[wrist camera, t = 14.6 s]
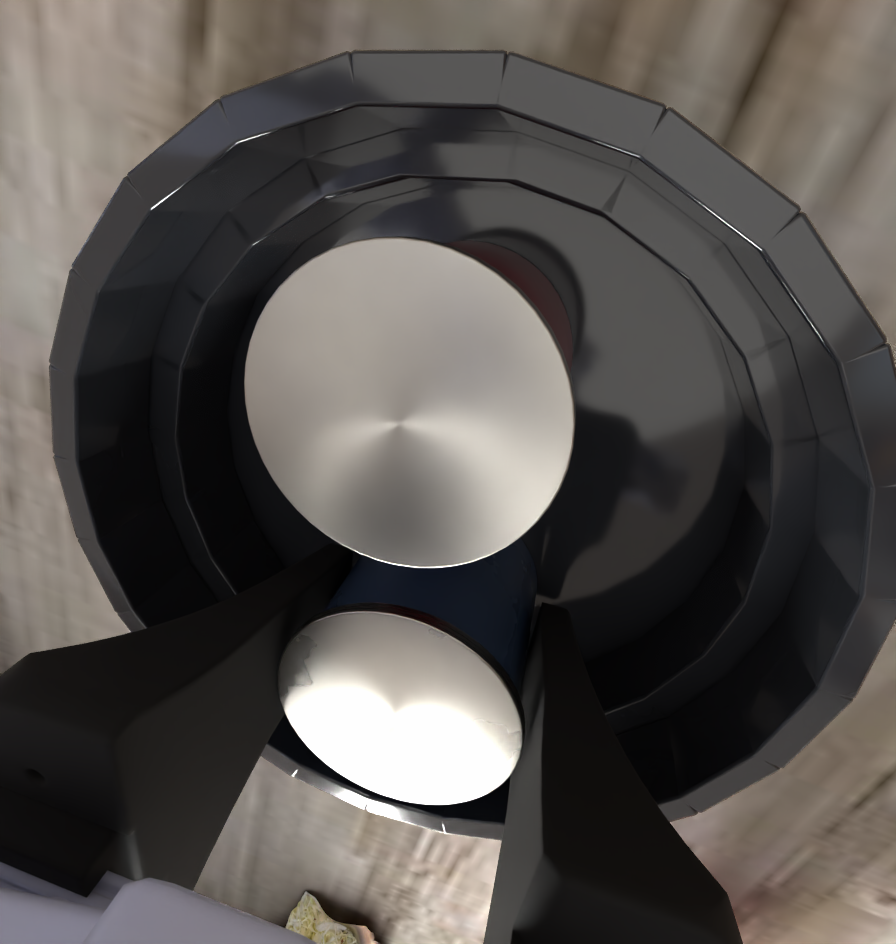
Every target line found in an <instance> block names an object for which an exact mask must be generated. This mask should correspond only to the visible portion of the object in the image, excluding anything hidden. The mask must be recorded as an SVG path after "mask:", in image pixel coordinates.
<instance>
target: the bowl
mask: <svg viewBox="0 0 896 944" xmlns="http://www.w3.org/2000/svg"><path fill="white" fill-rule="evenodd" d="M800 210H801V208H800V206H799V205H798V204H797V203H795V202H794V201H793V200H791V199H790V198H789V197H788V196H786V195H785V194H784V193H782V192H781V191H780V190H779V189H777V188H776V187H775V186H773V185H772V184H771V183H769V182H768V181H767V180H766V179H764V178H763V177H762V176H760V175H759V174H758V173H756V172H755V171H754V170H753V169H751V168H750V167H749V166H747V165H746V164H745V163H744V162H742V161H741V160H740V159H738V158H737V157H736V156H734V155H733V154H732V153H731V152H729V151H728V150H727V149H725V148H724V147H723V146H722V145H720V144H719V143H718V142H716V141H715V140H714V139H712V138H711V137H710V136H709V135H707V134H706V133H705V132H703V131H702V130H701V129H699V128H698V127H697V126H696V125H694V124H693V123H692V122H690V121H689V120H688V119H687V118H685V117H684V116H683V115H681V114H680V113H679V112H677V111H676V110H675V109H674V108H671V107H668V108H667V109H666V105H665V104H664V103H662V102H659V101H656V100H653V99H650V98H647V97H645V96H642V95H639V94H636V93H633V92H630V91H627V90H624V89H621V88H618V87H615V86H612V85H610V84H607V83H604V82H601V81H598V80H595V79H592V78H589V77H586V76H583V75H580V74H577V73H575V72H572V71H569V70H566V69H563V68H560V67H557V66H554V65H551V64H548V63H545V62H542V61H540V60H537V59H534V58H531V57H528V56H525V55H522V54H519V53H516V52H513V51H512V52H509V53H507V51H505V50H353V51H352V52H349V51H346V52H343V53H340V54H338V55H335V56H332V57H329V58H326V59H324V60H321V61H318V62H315V63H312V64H310V65H307V66H304V67H301V68H298V69H296V70H293V71H290V72H287V73H284V74H282V75H279V76H276V77H273V78H270V79H268V80H265V81H262V82H259V83H256V84H254V85H251V86H248V87H245V88H243V89H240V90H237V91H234V92H231V93H229V94H226V95H223V96H221V97H220V99H217V100H215V101H214V102H213V103H212V104H211V105H209V106H208V107H207V108H206V109H205V110H203V111H202V112H201V113H200V114H198V115H197V116H196V117H195V118H194V119H192V120H191V121H190V122H189V123H188V124H186V125H185V126H184V127H183V128H182V129H180V130H179V131H178V132H177V133H176V134H174V135H173V136H172V137H171V138H170V139H168V140H167V141H166V142H165V143H164V144H162V145H161V146H160V147H159V148H158V149H156V150H155V151H154V152H153V153H152V154H150V155H149V156H148V157H147V158H146V159H144V160H143V161H142V162H141V163H140V164H138V165H137V166H136V167H135V168H133V169H132V170H131V171H130V172H129V173H128V174H127V176H126V177H124V178H123V180H122V182H121V183H120V185H119V187H118V188H117V190H116V192H115V193H114V195H113V197H112V198H111V200H110V202H109V203H108V205H107V207H106V208H105V210H104V212H103V214H102V215H101V217H100V219H99V220H98V222H97V224H96V225H95V227H94V229H93V230H92V232H91V234H90V235H89V237H88V239H87V240H86V242H85V244H84V245H83V247H82V249H81V251H80V252H79V254H78V256H77V257H76V259H75V261H74V262H73V264H72V269H71V270H70V272H69V276H68V280H67V285H66V289H65V293H64V298H63V302H62V306H61V311H60V315H59V319H58V324H57V328H56V333H55V337H54V341H53V346H52V350H51V354H50V359H49V362H50V366H49V377H50V399H51V421H52V442H53V453H54V454H55V455H54V457H53V458H54V461H55V464H56V468H57V471H58V475H59V478H60V482H61V485H62V489H63V492H64V496H65V499H66V503H67V506H68V510H69V513H70V517H71V520H72V523H73V527H74V530H75V534H76V537H77V538H79V539H78V542H79V543H80V545H81V547H82V549H83V551H84V553H85V555H86V557H87V559H88V561H89V563H90V564H91V566H92V568H93V570H94V572H95V574H96V576H97V578H98V580H99V582H100V584H101V585H102V587H103V589H104V591H105V593H106V595H107V597H108V599H109V601H110V603H111V604H112V606H113V608H114V610H115V612H117V613H118V616H119V617H120V619H121V620H122V621H123V622H124V624H125V625H126V626H127V628H128V629H129V630H130V631H131V632H135V631H139V630H142V629H146V628H149V627H152V626H155V625H158V624H161V623H164V622H167V621H171V620H174V619H177V618H180V617H183V616H186V615H189V614H191V613H194V612H197V611H199V610H202V609H204V608H207V607H209V606H212V605H214V604H217V603H219V602H221V601H224V600H226V599H228V598H230V597H232V596H235V595H237V594H239V593H241V592H243V591H245V590H247V589H249V588H251V587H253V586H255V585H257V584H259V583H261V582H263V581H265V580H267V579H268V578H270V577H272V576H274V575H276V574H277V573H279V572H281V571H283V570H285V569H286V568H288V567H290V566H292V565H293V564H295V563H297V562H298V561H300V560H302V559H304V558H305V557H307V556H309V555H310V554H312V553H314V552H316V551H317V550H319V549H321V548H323V547H324V546H326V545H328V544H330V543H334V544H338V545H341V544H340V543H338V542H337V541H335V540H333V539H332V538H330V537H329V536H327V535H326V534H324V533H323V532H322V531H320V530H319V529H318V528H316V527H315V526H314V525H313V524H311V523H310V522H309V521H308V520H307V519H306V518H305V517H304V516H303V515H302V514H301V513H300V512H299V511H297V510H296V508H295V507H294V506H293V505H292V504H291V503H290V501H289V500H288V499H287V498H286V497H285V496H284V495H283V493H282V492H281V490H280V489H279V487H278V486H277V484H276V483H275V482H274V480H273V479H272V477H271V475H270V473H269V472H268V470H267V468H266V466H265V464H264V463H263V461H262V459H261V456H260V454H259V451H258V449H257V447H256V444H255V442H254V439H253V435H252V432H251V428H250V425H249V421H248V415H247V410H246V404H245V388H244V378H245V364H246V358H247V353H248V348H249V343H250V340H251V337H252V334H253V331H254V329H255V326H256V323H257V321H258V319H259V317H260V315H261V313H262V311H263V309H264V308H265V306H266V304H267V302H268V301H269V300H270V298H271V297H272V295H273V294H274V293H275V291H276V290H277V289H278V287H279V286H280V285H281V284H282V283H283V282H284V281H285V280H286V279H287V278H288V277H289V276H290V275H291V274H292V273H293V272H294V271H295V270H297V269H298V268H299V267H301V266H302V265H303V264H305V263H306V262H308V261H309V260H310V259H312V258H313V257H315V256H317V255H319V254H321V253H323V252H325V251H327V250H329V249H331V248H334V247H337V246H340V245H343V244H346V243H349V242H352V241H356V240H363V239H369V238H375V237H395V236H408V237H415V238H422V239H429V240H434V241H437V242H441V243H449V242H455V241H479V242H486V243H491V244H494V245H497V246H501V247H504V248H506V249H508V250H510V251H512V252H515V253H517V254H518V255H520V256H521V257H523V258H524V259H526V260H528V261H529V262H530V263H531V264H533V265H534V266H535V267H536V268H537V269H538V270H540V271H541V273H542V274H543V275H544V276H545V277H546V278H547V279H548V280H549V282H550V283H551V284H552V286H553V287H554V289H555V290H556V292H557V293H558V295H559V297H560V299H561V301H562V303H563V305H564V307H565V310H566V313H567V316H568V319H569V322H570V327H571V333H572V343H573V355H572V366H571V372H570V373H571V379H572V384H573V389H574V394H575V409H576V425H575V436H574V447H573V451H572V455H571V460H570V464H569V468H568V471H567V473H566V476H565V478H564V481H563V483H562V486H561V488H560V490H559V492H558V493H557V495H556V497H555V499H554V500H553V502H552V504H551V505H550V507H549V508H548V509H547V511H546V512H545V513H544V514H543V516H542V517H541V518H540V519H539V521H538V522H537V523H536V524H535V525H534V526H533V527H532V528H531V529H530V530H528V531H527V532H526V533H525V534H524V535H523V536H522V537H520V538H521V539H522V541H523V542H524V544H525V545H526V547H527V549H528V550H529V552H530V554H531V557H532V559H533V561H534V565H535V569H536V574H537V593H536V599H535V605H534V612H533V618H532V624H531V631H530V637H529V643H528V648H529V644H530V641H531V638H532V634H533V631H534V628H535V624H536V621H537V617H538V614H539V611H540V607H541V604H542V602H544V603H548V604H551V605H555V606H558V607H562V608H566V609H568V611H569V612H570V614H571V619H572V624H573V628H574V632H575V636H576V639H577V643H578V646H579V649H580V652H581V655H582V658H583V661H584V664H585V667H586V669H587V672H588V675H589V678H590V680H591V683H592V685H593V688H594V690H595V693H596V695H597V698H598V700H599V702H600V704H601V707H602V709H603V711H604V713H605V716H606V718H607V720H608V722H609V724H610V726H611V728H612V730H613V732H614V734H615V736H616V738H617V740H618V741H619V743H620V745H621V747H622V749H623V751H624V753H625V754H626V756H627V758H628V759H629V761H630V763H631V765H632V766H633V768H634V770H635V771H636V773H637V775H638V776H639V778H640V779H641V781H642V782H643V784H644V785H645V787H646V788H647V790H648V791H649V793H650V794H651V796H652V798H653V799H654V801H655V802H656V804H657V805H658V807H659V808H660V810H661V811H662V813H663V814H664V815H665V817H666V818H667V819H668V821H669V822H672V821H675V820H679V819H683V818H686V817H690V816H694V815H696V814H698V812H699V813H702V812H704V811H706V810H708V809H709V808H711V807H713V806H715V805H717V804H719V803H720V802H722V801H724V800H726V799H728V798H730V797H731V796H733V795H735V794H737V793H739V792H741V791H742V790H744V789H746V788H748V787H750V786H752V785H753V784H755V783H757V782H759V781H761V780H763V779H764V778H766V777H768V776H770V775H772V774H774V773H775V772H777V771H779V770H780V768H784V767H785V766H786V765H787V764H788V763H789V762H790V761H792V760H793V759H794V758H795V757H796V756H797V755H798V754H799V753H800V752H801V751H802V750H803V749H804V748H805V747H806V746H807V745H808V744H809V743H810V742H811V741H812V740H813V739H814V738H815V737H816V736H817V735H818V734H819V733H820V732H821V731H822V730H823V729H824V728H825V727H826V726H827V725H829V724H830V723H831V722H832V721H833V720H834V719H835V718H836V717H837V716H838V715H839V714H840V713H841V712H842V711H843V710H844V709H845V708H846V707H847V706H848V705H849V704H850V703H851V702H852V701H853V698H855V697H856V695H857V694H858V692H859V690H860V688H861V686H862V684H863V682H864V680H865V678H866V676H867V674H868V673H869V671H870V669H871V667H872V665H873V663H874V661H875V659H876V657H877V655H878V653H879V652H880V650H881V648H882V646H883V644H884V642H885V640H886V638H887V636H888V634H889V632H890V631H891V629H892V627H893V625H894V623H895V621H896V366H895V362H894V358H893V353H892V349H891V346H890V344H889V343H887V339H886V335H885V334H884V332H883V331H882V329H881V328H880V326H879V325H878V323H877V322H876V320H875V319H874V317H873V315H872V314H871V312H870V311H869V309H868V308H867V306H866V305H865V303H864V302H863V300H862V299H861V297H860V296H859V294H858V292H857V291H856V289H855V288H854V286H853V285H852V283H851V282H850V280H849V279H848V277H847V276H846V274H845V273H844V271H843V270H842V268H841V266H840V265H839V263H838V262H837V260H836V259H835V257H834V256H833V254H832V253H831V251H830V250H829V248H828V247H827V245H826V243H825V242H824V240H823V239H822V237H821V236H820V234H819V233H818V231H817V230H816V228H815V227H814V225H813V224H812V222H811V220H810V219H809V217H808V216H807V214H806V213H804V212H800ZM341 546H343V545H341ZM361 555H362V554H359V553H357V552H355V551H353V558H352V568H353V567H354V566H355V564H356V563H357V561H358V560H359V558H360V557H361ZM527 651H528V650H527ZM260 756H262V757H263V758H265V759H266V760H268V761H269V762H271V763H272V764H274V765H275V766H277V767H278V768H280V769H281V770H283V771H284V772H286V773H287V774H289V775H290V776H294V777H295V778H296V779H298V780H301V781H303V782H305V783H307V784H309V785H311V786H314V787H316V788H318V789H320V790H322V791H324V792H326V793H329V794H331V795H333V796H335V797H337V798H339V799H342V800H344V801H346V802H348V803H350V804H352V805H354V806H357V807H359V808H361V809H363V810H366V809H367V811H368V812H372V813H375V814H379V815H382V816H386V817H389V818H393V819H396V820H399V821H403V822H406V823H410V824H413V825H417V826H420V827H424V828H427V829H431V830H434V831H438V832H441V833H443V832H444V833H445V834H451V835H460V836H468V837H477V838H486V839H494V840H502V837H503V831H504V825H505V820H506V814H507V805H508V797H509V786H510V777H509V778H508V779H507V780H506V781H505V782H504V783H503V784H502V785H500V786H499V787H498V788H496V789H495V790H493V791H492V792H490V793H488V794H486V795H484V796H482V797H479V798H476V799H473V800H470V801H466V802H461V803H455V804H443V805H434V804H420V803H412V802H407V801H402V800H398V799H394V798H391V797H388V796H384V795H381V794H379V793H376V792H374V791H371V790H369V789H366V788H364V787H362V786H360V785H358V784H356V783H354V782H352V781H351V780H349V779H347V778H346V777H344V776H342V775H341V774H339V773H338V772H336V771H335V770H334V769H332V768H331V767H329V766H328V765H327V764H326V763H325V762H323V761H322V760H321V759H320V758H319V757H317V756H316V755H315V754H314V753H313V752H312V751H311V750H310V749H309V748H308V747H307V745H306V744H305V743H304V742H303V741H302V739H301V738H300V737H299V736H298V734H297V733H296V731H295V730H294V728H293V727H292V725H291V724H290V722H289V720H288V718H287V716H286V714H284V716H283V717H282V719H281V720H280V722H279V724H278V725H277V727H276V728H275V730H274V732H273V733H272V735H271V737H270V739H269V741H268V742H267V744H266V746H265V748H264V750H263V752H262V754H261V755H260Z"/></svg>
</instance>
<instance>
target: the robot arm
mask: <svg viewBox="0 0 896 944" xmlns="http://www.w3.org/2000/svg"><path fill="white" fill-rule="evenodd" d="M352 558H353V550H351V549H349V548H347V547H345V546H341V545H338V544H334V543H330V544H328V545H326V546H324V547H323V548H321V549H319V550H317V551H316V552H314V553H312V554H310V555H309V556H307V557H305V558H304V559H302V560H300V561H298V562H297V563H295V564H293V565H292V566H290V567H288V568H286V569H285V570H283V571H281V572H279V573H277V574H276V575H274V576H272V577H270V578H268V579H267V580H265V581H263V582H261V583H259V584H257V585H255V586H253V587H251V588H249V589H247V590H245V591H243V592H241V593H239V594H237V595H235V596H232V597H230V598H228V599H226V600H224V601H221V602H219V603H217V604H214V605H212V606H209V607H207V608H204V609H202V610H199V611H197V612H194V613H191V614H189V615H186V616H183V617H180V618H177V619H174V620H171V621H167V622H164V623H161V624H158V625H155V626H152V627H149V628H146V629H142V630H139V631H135V632H131V633H127V634H124V635H120V636H116V637H111V638H107V639H103V640H99V641H94V642H89V643H85V644H79V645H74V646H68V647H63V648H57V649H52V650H46V651H40V652H34V653H30V654H28V655H27V656H25V657H24V658H23V659H21V660H20V661H19V662H17V663H16V664H15V665H13V666H12V667H11V668H10V669H8V670H7V671H6V672H4V673H3V674H2V675H0V944H318V943H316V942H314V941H312V940H310V939H308V938H307V937H305V936H303V935H301V934H299V933H296V932H294V931H291V930H289V929H286V928H284V927H281V926H279V925H276V924H274V923H271V922H269V921H266V920H264V919H261V918H259V917H256V916H254V915H251V914H249V913H246V912H244V911H241V910H239V909H236V908H234V907H231V906H229V905H226V904H224V903H221V902H219V901H216V900H214V899H211V898H209V897H206V896H204V895H201V894H199V893H196V892H194V891H193V890H194V887H195V885H196V883H197V881H198V879H199V877H200V875H201V872H202V870H203V868H204V866H205V864H206V862H207V860H208V858H209V856H210V853H211V851H212V849H213V847H214V845H215V843H216V841H217V839H218V837H219V835H220V833H221V831H222V829H223V827H224V825H225V823H226V821H227V819H228V817H229V815H230V813H231V811H232V809H233V807H234V805H235V803H236V801H237V799H238V797H239V795H240V793H241V792H242V790H243V788H244V786H245V784H246V782H247V780H248V778H249V776H250V774H251V772H252V770H253V768H254V767H255V765H256V763H257V761H258V759H259V757H260V755H261V754H262V752H263V750H264V748H265V746H266V744H267V742H268V741H269V739H270V737H271V735H272V733H273V732H274V730H275V728H276V727H277V725H278V724H279V722H280V720H281V719H282V717H283V716H284V714H285V712H284V709H283V706H282V704H281V701H280V696H279V692H278V682H277V675H278V666H279V662H280V659H281V655H282V653H283V651H284V649H285V647H286V645H287V644H288V642H289V641H290V640H291V638H292V637H293V636H294V634H295V633H296V632H297V631H298V629H299V628H300V627H301V626H302V625H303V624H305V623H306V622H307V621H308V620H309V619H311V618H312V617H314V616H316V615H317V614H319V613H321V612H323V610H324V609H325V607H326V606H327V604H328V603H329V602H330V600H331V599H332V597H333V596H334V594H335V593H336V591H337V590H338V589H339V587H340V586H341V584H342V583H343V581H344V580H345V579H346V577H347V576H348V574H349V573H350V571H351V570H352ZM520 700H521V703H522V706H523V709H524V716H525V738H524V745H523V750H522V754H521V757H520V760H519V762H518V764H517V766H516V768H515V769H514V771H513V772H512V774H511V775H510V786H509V797H508V805H507V814H506V820H505V825H504V831H503V837H502V843H501V849H500V854H499V860H498V866H497V871H496V877H495V883H494V888H493V894H492V899H491V905H490V911H489V916H488V921H487V927H486V932H485V938H484V943H483V944H743V942H742V939H741V936H740V932H739V929H738V926H737V922H736V919H735V916H734V913H733V910H732V907H731V903H730V900H729V897H728V894H727V892H726V891H725V890H724V889H723V888H722V886H721V885H720V884H719V883H718V882H717V881H716V879H715V878H714V877H713V876H712V875H711V873H710V872H709V871H708V870H707V869H706V867H705V866H704V865H703V864H702V863H701V861H700V860H699V859H698V858H697V857H696V856H695V854H694V853H693V852H692V851H691V850H690V848H689V847H688V846H687V845H686V843H685V842H684V841H683V840H682V838H681V837H680V836H679V834H678V833H677V832H676V830H675V829H674V828H673V826H672V825H671V824H670V822H669V821H668V819H667V818H666V817H665V815H664V814H663V813H662V811H661V810H660V808H659V807H658V805H657V804H656V802H655V801H654V799H653V798H652V796H651V794H650V793H649V791H648V790H647V788H646V787H645V785H644V784H643V782H642V781H641V779H640V778H639V776H638V775H637V773H636V771H635V770H634V768H633V766H632V765H631V763H630V761H629V759H628V758H627V756H626V754H625V753H624V751H623V749H622V747H621V745H620V743H619V741H618V740H617V738H616V736H615V734H614V732H613V730H612V728H611V726H610V724H609V722H608V720H607V718H606V716H605V713H604V711H603V709H602V707H601V704H600V702H599V700H598V698H597V695H596V693H595V690H594V688H593V685H592V683H591V680H590V678H589V675H588V672H587V669H586V667H585V664H584V661H583V658H582V655H581V652H580V649H579V646H578V643H577V639H576V636H575V632H574V628H573V624H572V619H571V614H570V612H569V611H568V609H566V608H562V607H558V606H555V605H551V604H548V603H544V602H542V604H541V607H540V611H539V614H538V617H537V621H536V624H535V628H534V631H533V634H532V638H531V641H530V644H529V648H528V651H527V656H526V662H525V669H524V675H523V681H522V687H521V694H520Z"/></svg>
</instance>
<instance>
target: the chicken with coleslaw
mask: <svg viewBox="0 0 896 944" xmlns="http://www.w3.org/2000/svg"><path fill="white" fill-rule="evenodd" d="M286 929H289V930H291V931H294V932H296V933H299V934H301V935H303V936H305V937H307V938H308V939H310V940H312V941H314V942H316V943H318V944H380V943H378V942H377V941H374V933H371V932H370V931H369V930H368V928H367V927H366V926H359V925H352V924H345V923H340V922H337V921H335V920H333V919H331V918H330V917H329V916H327V915H326V913H325V912H324V911H323V909H322V908H321V906H320V904H319V903H318V901H317V899H316V898H315V897H314V896H312V895H310V894H309V893H307V891H305V893H304V895H303V896H302V898H301V901H299V902H298V905H297V907H296V908H295V909H293V910H292V911H291V914H290V916H289V920H288V923H287V925H286Z"/></svg>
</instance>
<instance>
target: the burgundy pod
mask: <svg viewBox="0 0 896 944" xmlns="http://www.w3.org/2000/svg"><path fill="white" fill-rule="evenodd" d="M572 355H573V343H572V333H571V327H570V322H569V319H568V316H567V313H566V310H565V307H564V305H563V303H562V301H561V299H560V297H559V295H558V293H557V292H556V290H555V289H554V287H553V286H552V284H551V283H550V282H549V280H548V279H547V278H546V277H545V276H544V275H543V274H542V273H541V271H540V270H538V269H537V268H536V267H535V266H534V265H533V264H531V263H530V262H529V261H528V260H526V259H524V258H523V257H521V256H520V255H518V254H517V253H515V252H512V251H510V250H508V249H506V248H504V247H501V246H497V245H494V244H491V243H486V242H479V241H455V242H449V243H441V242H437V241H434V240H429V239H422V238H415V237H408V236H395V237H375V238H369V239H363V240H356V241H352V242H349V243H346V244H343V245H340V246H337V247H334V248H331V249H329V250H327V251H325V252H323V253H321V254H319V255H317V256H315V257H313V258H312V259H310V260H309V261H308V262H306V263H305V264H303V265H302V266H301V267H299V268H298V269H297V270H295V271H294V272H293V273H292V274H291V275H290V276H289V277H288V278H287V279H286V280H285V281H284V282H283V283H282V284H281V285H280V286H279V287H278V289H277V290H276V291H275V293H274V294H273V295H272V297H271V298H270V300H269V301H268V302H267V304H266V306H265V308H264V309H263V311H262V313H261V315H260V317H259V319H258V321H257V323H256V326H255V329H254V331H253V334H252V337H251V340H250V343H249V348H248V353H247V358H246V364H245V378H244V388H245V404H246V410H247V415H248V421H249V425H250V428H251V432H252V435H253V439H254V442H255V444H256V447H257V449H258V451H259V454H260V456H261V459H262V461H263V463H264V464H265V466H266V468H267V470H268V472H269V473H270V475H271V477H272V479H273V480H274V482H275V483H276V484H277V486H278V487H279V489H280V490H281V492H282V493H283V495H284V496H285V497H286V498H287V499H288V500H289V501H290V503H291V504H292V505H293V506H294V507H295V508H296V510H297V511H299V512H300V513H301V514H302V515H303V516H304V517H305V518H306V519H307V520H308V521H309V522H310V523H311V524H313V525H314V526H315V527H316V528H318V529H319V530H320V531H322V532H323V533H324V534H326V535H327V536H329V537H330V538H332V539H333V540H335V541H337V542H338V543H340V544H341V545H343V546H345V547H347V548H349V549H351V550H353V551H355V552H357V553H359V554H362V555H365V556H367V557H370V558H373V559H375V560H378V561H382V562H386V563H390V564H394V565H399V566H407V567H414V568H441V567H451V566H457V565H462V564H466V563H471V562H474V561H477V560H479V559H482V558H485V557H488V556H490V555H492V554H494V553H496V552H498V551H500V550H502V549H504V548H506V547H508V546H509V545H510V544H512V543H513V542H515V541H516V540H517V539H519V538H520V537H522V536H523V535H524V534H525V533H526V532H527V531H528V530H530V529H531V528H532V527H533V526H534V525H535V524H536V523H537V522H538V521H539V519H540V518H541V517H542V516H543V514H544V513H545V512H546V511H547V509H548V508H549V507H550V505H551V504H552V502H553V500H554V499H555V497H556V495H557V493H558V492H559V490H560V488H561V486H562V483H563V481H564V478H565V476H566V473H567V471H568V468H569V464H570V460H571V455H572V451H573V447H574V436H575V425H576V409H575V394H574V389H573V384H572V379H571V373H570V372H571V366H572Z"/></svg>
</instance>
